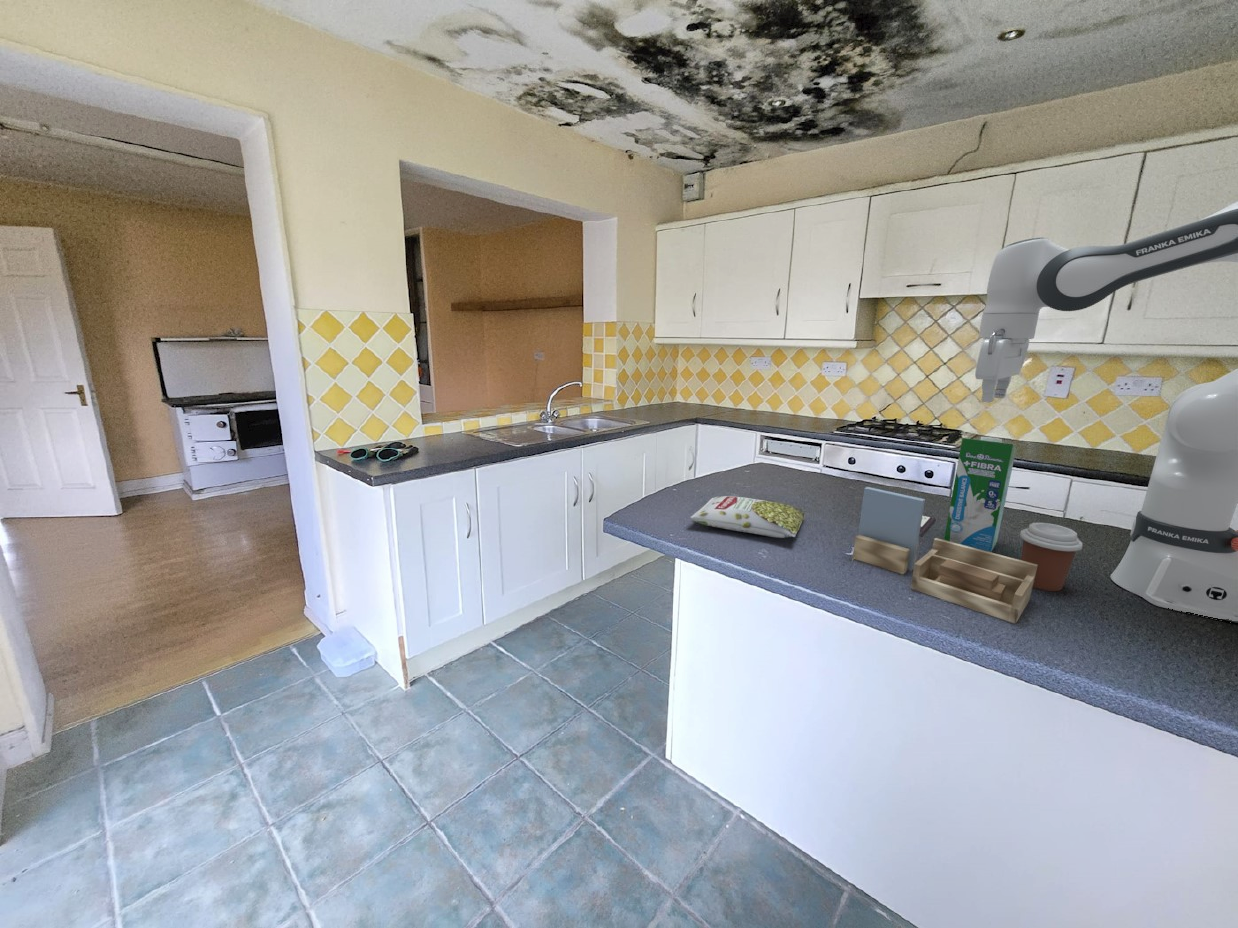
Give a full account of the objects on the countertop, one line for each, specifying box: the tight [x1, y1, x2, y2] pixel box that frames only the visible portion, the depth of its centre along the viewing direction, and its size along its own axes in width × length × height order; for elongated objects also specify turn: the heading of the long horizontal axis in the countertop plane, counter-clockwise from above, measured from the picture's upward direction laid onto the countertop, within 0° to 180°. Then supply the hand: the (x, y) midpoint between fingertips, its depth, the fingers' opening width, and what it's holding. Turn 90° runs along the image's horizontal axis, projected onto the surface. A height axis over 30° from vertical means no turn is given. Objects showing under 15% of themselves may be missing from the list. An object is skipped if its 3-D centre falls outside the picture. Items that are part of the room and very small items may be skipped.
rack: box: [909, 537, 1038, 625], centre depth 92 cm, size 16×11×8 cm
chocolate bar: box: [919, 515, 937, 538], centre depth 129 cm, size 9×1×18 cm
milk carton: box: [943, 436, 1017, 553], centre depth 115 cm, size 9×9×25 cm
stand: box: [851, 534, 920, 575], centre depth 106 cm, size 10×7×6 cm
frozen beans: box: [689, 495, 807, 539], centre depth 128 cm, size 21×6×25 cm
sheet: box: [857, 486, 926, 572], centre depth 105 cm, size 11×2×15 cm, turn 43°
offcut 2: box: [940, 575, 1006, 601], centre depth 91 cm, size 9×4×2 cm, turn 45°
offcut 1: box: [939, 559, 999, 591], centre depth 91 cm, size 8×4×2 cm, turn 40°
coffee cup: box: [1019, 522, 1084, 592], centre depth 96 cm, size 9×9×12 cm
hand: (993, 400), depth 103 cm, fingers open, 8 cm apart
